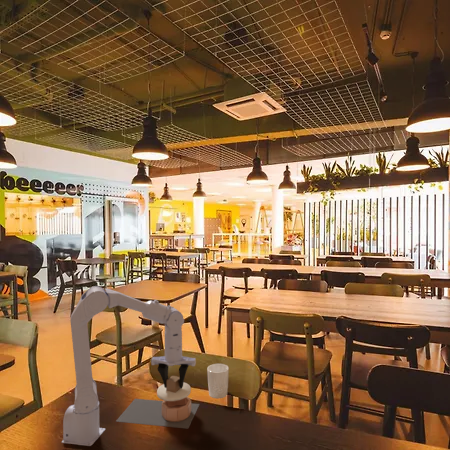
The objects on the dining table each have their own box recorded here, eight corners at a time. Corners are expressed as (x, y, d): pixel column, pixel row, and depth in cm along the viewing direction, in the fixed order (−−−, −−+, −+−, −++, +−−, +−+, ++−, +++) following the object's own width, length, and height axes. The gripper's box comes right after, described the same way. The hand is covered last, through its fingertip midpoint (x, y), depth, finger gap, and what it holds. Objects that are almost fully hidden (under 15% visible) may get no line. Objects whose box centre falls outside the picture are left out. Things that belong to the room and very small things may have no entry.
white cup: (215, 403, 116) (215, 374, 116) (203, 394, 122) (203, 367, 122) (233, 396, 121) (232, 368, 121) (220, 387, 127) (220, 361, 127)
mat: (115, 422, 105) (115, 421, 105) (135, 400, 119) (135, 398, 119) (188, 430, 101) (188, 428, 101) (199, 405, 114) (199, 404, 114)
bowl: (158, 420, 105) (158, 408, 105) (168, 405, 114) (168, 393, 114) (185, 423, 103) (185, 410, 103) (193, 407, 112) (193, 395, 112)
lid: (150, 396, 106) (149, 382, 106) (170, 381, 116) (170, 369, 116) (178, 404, 101) (178, 389, 101) (196, 388, 111) (196, 375, 111)
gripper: (148, 349, 106) (148, 391, 105) (192, 350, 104) (193, 393, 104) (154, 341, 113) (155, 381, 113) (196, 342, 111) (197, 382, 111)
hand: (173, 386), depth 109 cm, fingers closed on lid, 4 cm apart
